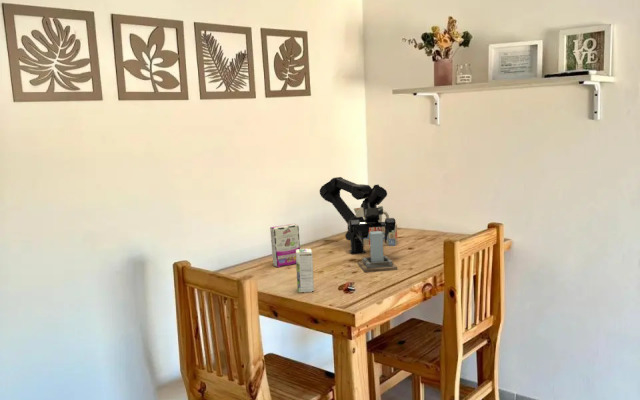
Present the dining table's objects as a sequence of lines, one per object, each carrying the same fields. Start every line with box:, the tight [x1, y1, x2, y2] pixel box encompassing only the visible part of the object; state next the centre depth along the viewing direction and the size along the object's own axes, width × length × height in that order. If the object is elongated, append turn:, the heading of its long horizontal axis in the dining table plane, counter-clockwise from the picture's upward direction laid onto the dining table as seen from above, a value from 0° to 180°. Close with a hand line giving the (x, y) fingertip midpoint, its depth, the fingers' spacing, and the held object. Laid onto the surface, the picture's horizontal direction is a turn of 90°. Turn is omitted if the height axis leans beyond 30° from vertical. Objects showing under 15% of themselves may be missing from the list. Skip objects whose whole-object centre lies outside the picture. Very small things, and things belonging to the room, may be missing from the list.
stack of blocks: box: [349, 217, 398, 247], centre depth 272 cm, size 21×6×12 cm, turn 72°
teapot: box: [353, 206, 390, 222], centre depth 296 cm, size 18×14×16 cm
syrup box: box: [295, 248, 315, 293], centre depth 206 cm, size 6×6×14 cm
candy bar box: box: [269, 223, 301, 268], centre depth 243 cm, size 11×5×16 cm, turn 117°
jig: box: [357, 255, 398, 273], centre depth 233 cm, size 13×13×3 cm
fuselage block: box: [369, 231, 385, 263], centre depth 232 cm, size 4×4×13 cm
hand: (374, 242), depth 236 cm, fingers open, 9 cm apart
